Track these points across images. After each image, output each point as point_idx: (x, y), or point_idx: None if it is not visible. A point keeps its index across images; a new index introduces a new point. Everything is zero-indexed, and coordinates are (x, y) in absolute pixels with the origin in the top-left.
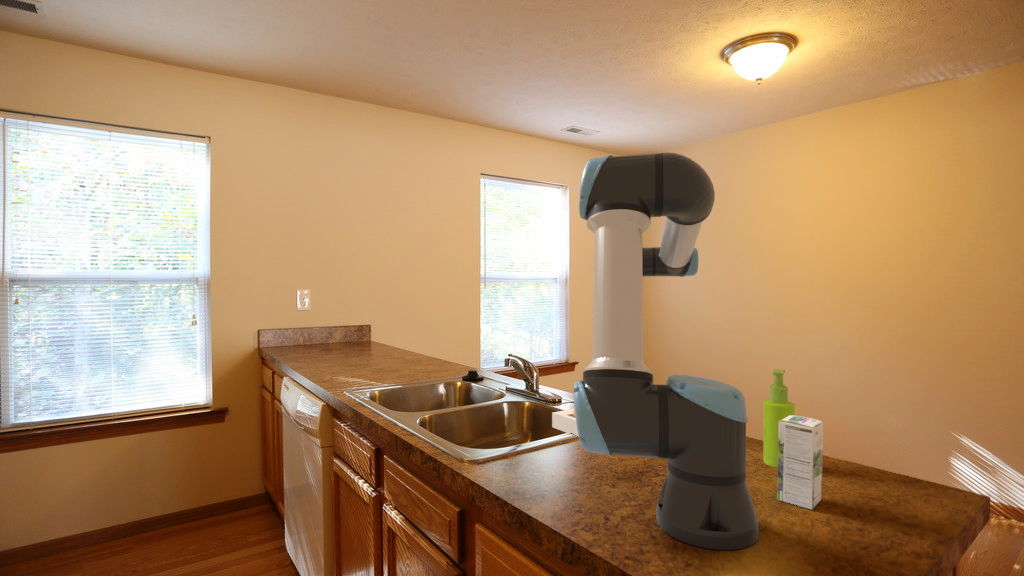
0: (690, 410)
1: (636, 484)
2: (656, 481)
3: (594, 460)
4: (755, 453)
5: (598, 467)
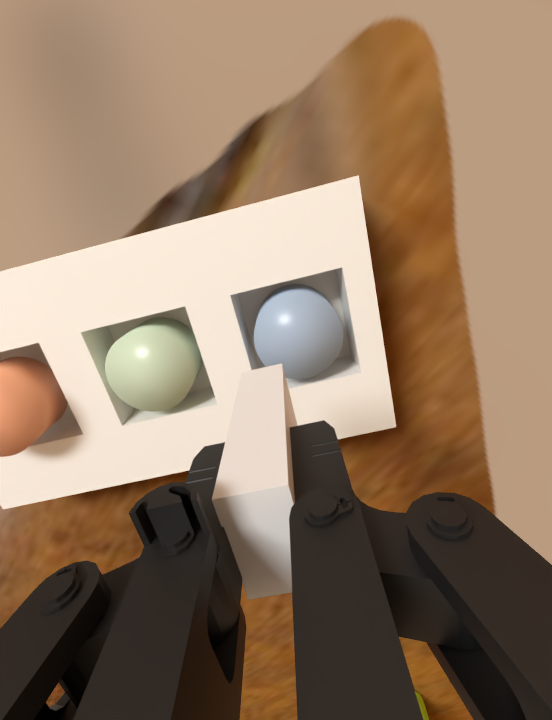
0: None
1: (52, 693)
2: None
3: (8, 591)
4: (409, 660)
5: (5, 622)
